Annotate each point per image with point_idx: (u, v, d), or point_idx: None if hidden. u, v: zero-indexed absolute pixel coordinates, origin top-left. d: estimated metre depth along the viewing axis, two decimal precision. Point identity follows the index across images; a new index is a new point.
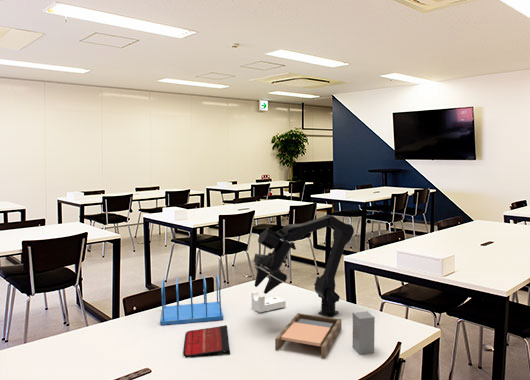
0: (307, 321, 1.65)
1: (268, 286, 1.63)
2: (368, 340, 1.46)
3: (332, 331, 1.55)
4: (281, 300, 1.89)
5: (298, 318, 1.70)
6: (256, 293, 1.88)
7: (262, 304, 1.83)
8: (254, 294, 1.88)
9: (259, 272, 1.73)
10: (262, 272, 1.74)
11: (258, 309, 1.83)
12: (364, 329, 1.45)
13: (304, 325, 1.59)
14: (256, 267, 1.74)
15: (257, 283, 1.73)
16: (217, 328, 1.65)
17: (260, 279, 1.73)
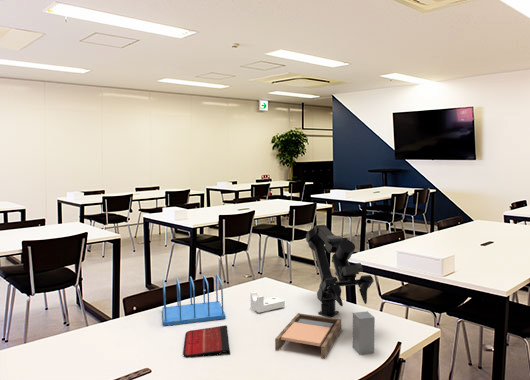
0: (307, 321, 1.65)
1: None
2: (368, 340, 1.46)
3: (332, 331, 1.55)
4: (280, 300, 1.89)
5: (298, 318, 1.70)
6: (255, 293, 1.88)
7: (260, 304, 1.83)
8: (253, 294, 1.88)
9: None
10: None
11: (257, 309, 1.83)
12: (364, 329, 1.45)
13: (304, 325, 1.59)
14: (335, 285, 1.56)
15: None
16: (217, 328, 1.65)
17: None
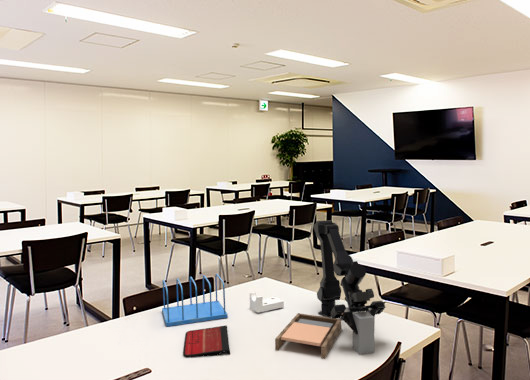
0: (307, 321, 1.65)
1: None
2: (368, 340, 1.46)
3: (332, 331, 1.55)
4: (279, 300, 1.89)
5: (298, 318, 1.70)
6: (254, 293, 1.88)
7: (259, 304, 1.83)
8: (252, 294, 1.88)
9: None
10: None
11: (256, 309, 1.83)
12: (364, 329, 1.45)
13: (304, 325, 1.59)
14: (349, 312, 1.48)
15: None
16: (217, 328, 1.65)
17: None
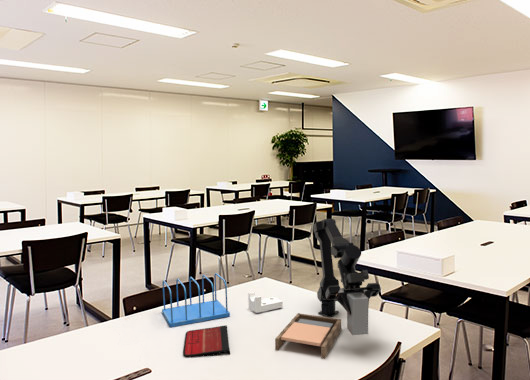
0: (307, 321, 1.65)
1: None
2: (362, 321, 1.45)
3: (332, 331, 1.55)
4: (278, 301, 1.89)
5: (298, 318, 1.70)
6: (253, 293, 1.88)
7: (258, 304, 1.82)
8: (251, 294, 1.87)
9: None
10: None
11: (255, 309, 1.83)
12: (358, 310, 1.45)
13: (304, 325, 1.59)
14: (344, 292, 1.48)
15: None
16: (217, 328, 1.65)
17: None
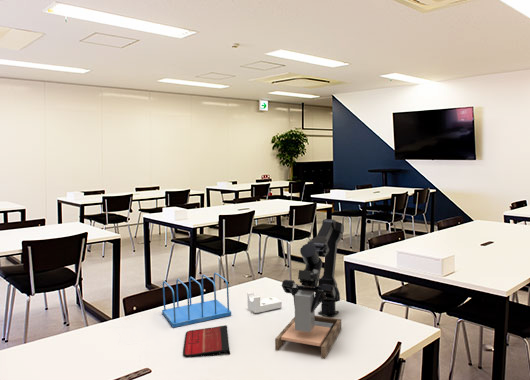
0: None
1: (316, 303, 1.50)
2: (304, 318, 1.48)
3: (332, 331, 1.55)
4: (277, 301, 1.89)
5: None
6: (252, 294, 1.88)
7: (257, 304, 1.82)
8: (250, 295, 1.87)
9: None
10: None
11: (254, 310, 1.82)
12: (299, 306, 1.49)
13: None
14: (293, 288, 1.53)
15: None
16: (217, 328, 1.65)
17: None
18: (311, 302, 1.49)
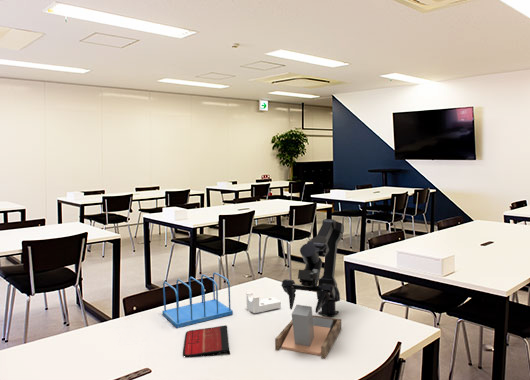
0: None
1: (320, 304, 1.49)
2: (303, 334, 1.48)
3: (332, 331, 1.55)
4: (276, 301, 1.88)
5: None
6: (251, 294, 1.88)
7: (256, 305, 1.82)
8: (249, 295, 1.87)
9: (292, 292, 1.54)
10: (293, 292, 1.55)
11: (253, 310, 1.82)
12: (297, 324, 1.47)
13: None
14: (289, 287, 1.54)
15: (291, 305, 1.52)
16: (217, 328, 1.65)
17: (293, 300, 1.54)
18: (309, 319, 1.47)
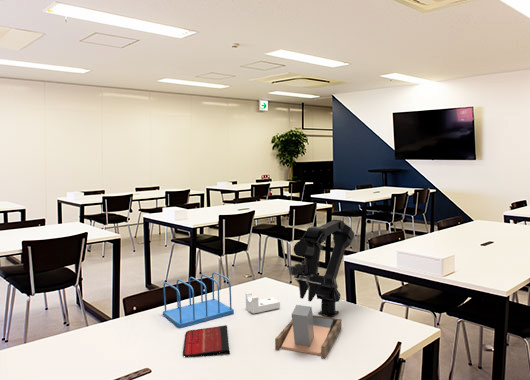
0: None
1: (310, 293, 1.61)
2: (303, 334, 1.48)
3: (332, 331, 1.55)
4: (275, 301, 1.88)
5: None
6: (250, 294, 1.87)
7: (255, 305, 1.82)
8: (248, 295, 1.87)
9: (300, 283, 1.71)
10: (303, 282, 1.72)
11: (252, 310, 1.82)
12: (297, 324, 1.47)
13: None
14: (296, 279, 1.72)
15: (302, 295, 1.71)
16: (217, 328, 1.66)
17: (304, 290, 1.71)
18: (309, 319, 1.47)
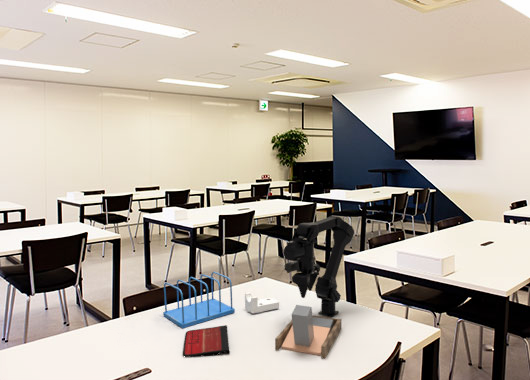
0: None
1: (300, 290, 1.66)
2: (302, 334, 1.48)
3: (332, 331, 1.55)
4: (275, 301, 1.88)
5: None
6: (249, 294, 1.87)
7: (254, 305, 1.82)
8: (247, 295, 1.87)
9: None
10: (310, 275, 1.75)
11: (251, 310, 1.82)
12: (297, 324, 1.47)
13: None
14: None
15: (310, 287, 1.75)
16: (217, 328, 1.66)
17: (311, 282, 1.75)
18: (309, 319, 1.47)
